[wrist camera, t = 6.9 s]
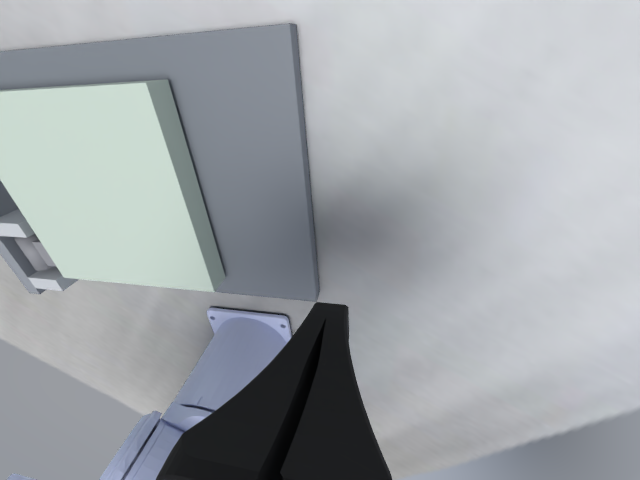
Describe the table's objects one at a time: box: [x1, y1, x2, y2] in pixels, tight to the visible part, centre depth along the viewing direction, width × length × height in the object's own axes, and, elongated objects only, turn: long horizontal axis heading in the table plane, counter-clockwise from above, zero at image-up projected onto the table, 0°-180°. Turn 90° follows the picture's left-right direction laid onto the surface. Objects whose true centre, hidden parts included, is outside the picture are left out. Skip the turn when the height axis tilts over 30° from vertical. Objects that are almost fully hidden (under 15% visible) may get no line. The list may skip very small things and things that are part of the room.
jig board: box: [0, 23, 320, 302], centre depth 22 cm, size 18×26×4 cm
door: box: [0, 79, 225, 292], centre depth 22 cm, size 14×17×2 cm
